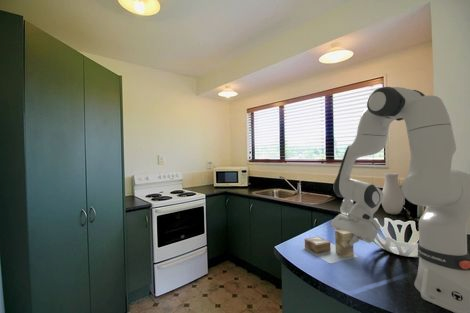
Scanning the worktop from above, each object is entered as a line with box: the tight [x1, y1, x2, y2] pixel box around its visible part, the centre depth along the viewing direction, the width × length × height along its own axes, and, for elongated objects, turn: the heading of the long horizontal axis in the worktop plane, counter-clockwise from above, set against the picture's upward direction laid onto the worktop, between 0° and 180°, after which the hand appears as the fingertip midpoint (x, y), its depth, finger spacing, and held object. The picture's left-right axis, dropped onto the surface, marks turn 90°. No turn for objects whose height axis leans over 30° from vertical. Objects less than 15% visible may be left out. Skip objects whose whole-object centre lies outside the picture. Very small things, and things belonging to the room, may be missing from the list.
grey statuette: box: [341, 198, 355, 214], centre depth 129 cm, size 6×7×20 cm
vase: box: [381, 172, 404, 215], centre depth 162 cm, size 14×14×30 cm
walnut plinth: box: [304, 236, 331, 254], centre depth 101 cm, size 8×8×4 cm
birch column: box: [334, 229, 355, 258], centre depth 95 cm, size 5×5×10 cm
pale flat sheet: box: [302, 242, 360, 264], centre depth 98 cm, size 18×16×1 cm
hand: (343, 242), depth 95 cm, fingers closed on birch column, 5 cm apart
